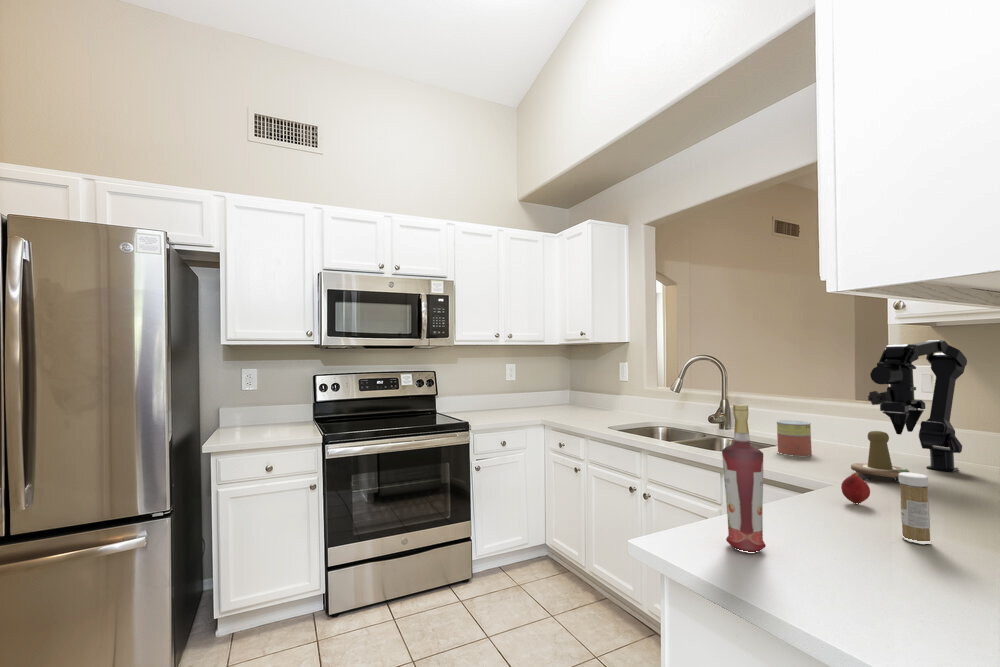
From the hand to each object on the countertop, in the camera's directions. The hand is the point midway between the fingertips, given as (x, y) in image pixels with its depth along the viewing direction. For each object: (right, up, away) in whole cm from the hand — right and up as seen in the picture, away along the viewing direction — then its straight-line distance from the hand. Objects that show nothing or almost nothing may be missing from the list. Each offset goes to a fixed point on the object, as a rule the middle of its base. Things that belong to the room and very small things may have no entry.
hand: (904, 433), depth 148 cm
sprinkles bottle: (-44, -11, -54) cm, 70 cm away
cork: (-11, -10, -4) cm, 16 cm away
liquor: (-80, -11, -57) cm, 99 cm away
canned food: (-14, -15, +33) cm, 39 cm away
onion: (-38, -12, -30) cm, 50 cm away
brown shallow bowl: (-12, -13, -5) cm, 18 cm away
